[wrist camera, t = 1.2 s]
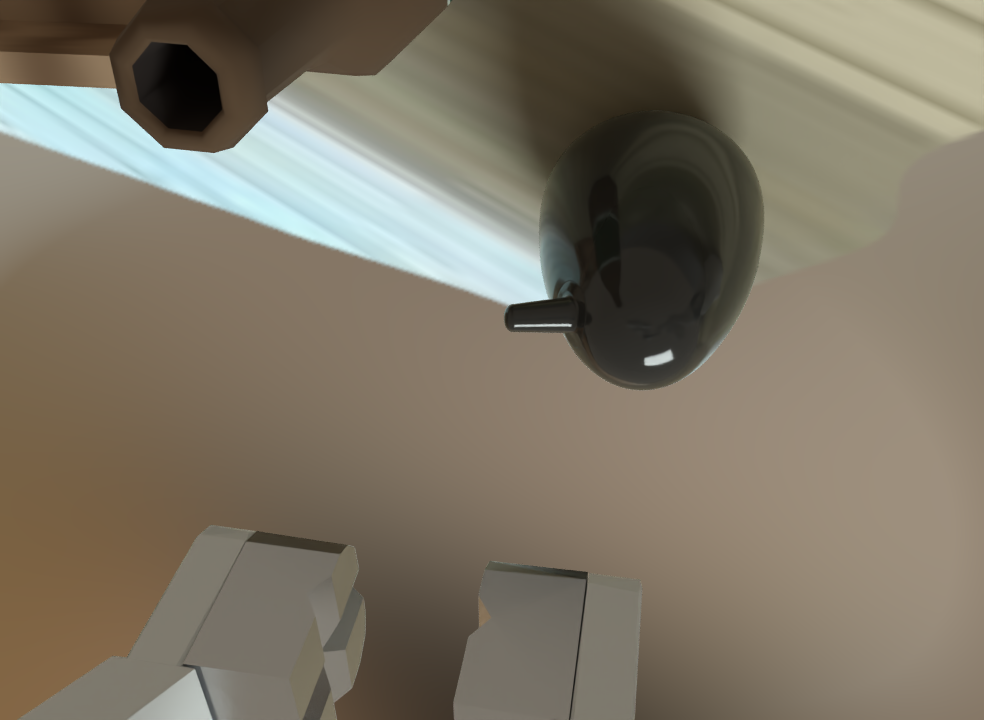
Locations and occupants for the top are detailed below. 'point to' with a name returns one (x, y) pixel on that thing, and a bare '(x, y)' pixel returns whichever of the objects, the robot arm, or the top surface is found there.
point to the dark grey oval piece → (646, 247)
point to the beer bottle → (247, 58)
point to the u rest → (61, 40)
